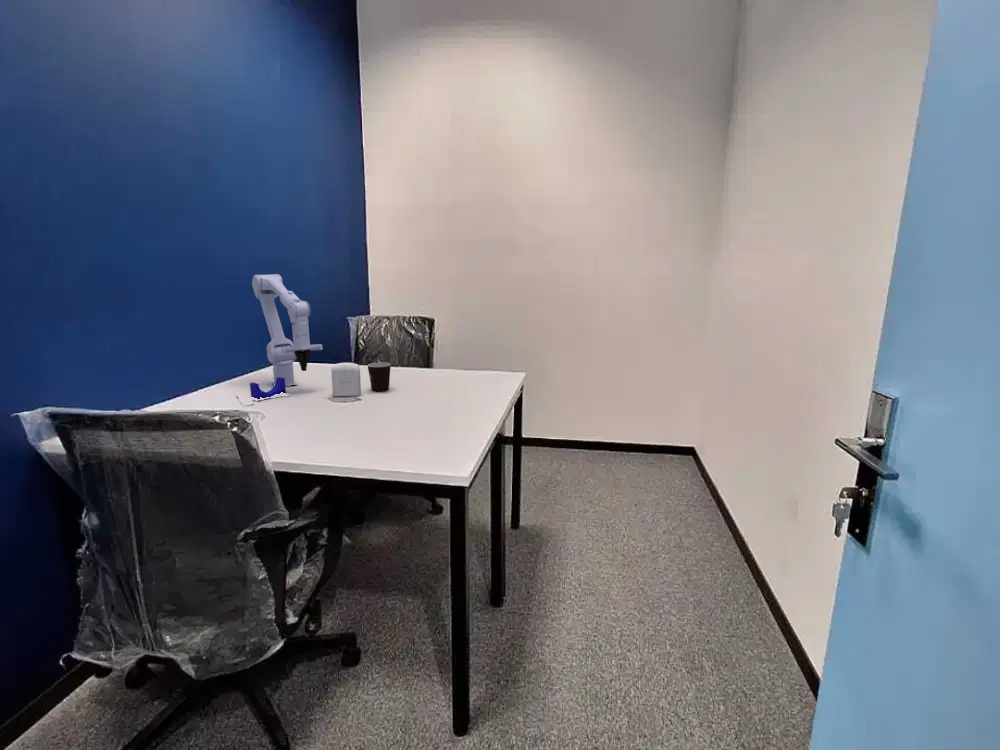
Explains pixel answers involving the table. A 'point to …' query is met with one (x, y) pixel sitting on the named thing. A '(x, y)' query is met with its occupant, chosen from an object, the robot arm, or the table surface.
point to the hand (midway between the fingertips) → (303, 370)
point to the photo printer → (346, 379)
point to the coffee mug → (379, 376)
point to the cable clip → (277, 389)
